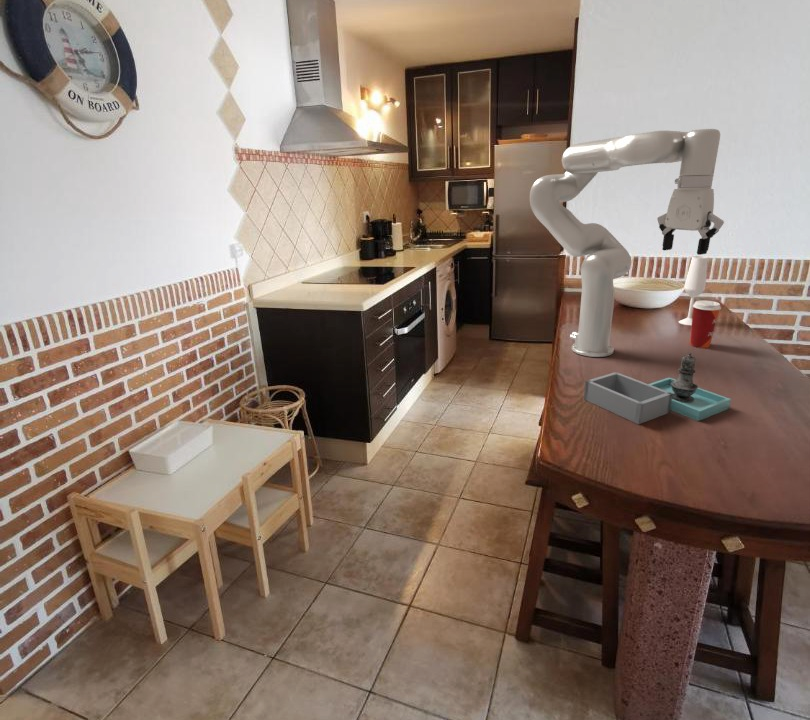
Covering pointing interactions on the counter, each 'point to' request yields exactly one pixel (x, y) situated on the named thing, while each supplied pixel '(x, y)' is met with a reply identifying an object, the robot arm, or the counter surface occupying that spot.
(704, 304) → the paper cup
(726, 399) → the tray
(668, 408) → the deep rectangular frame
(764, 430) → the counter surface
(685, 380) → the grey stone turned piece
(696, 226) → the robot arm
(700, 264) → the champagne flute
